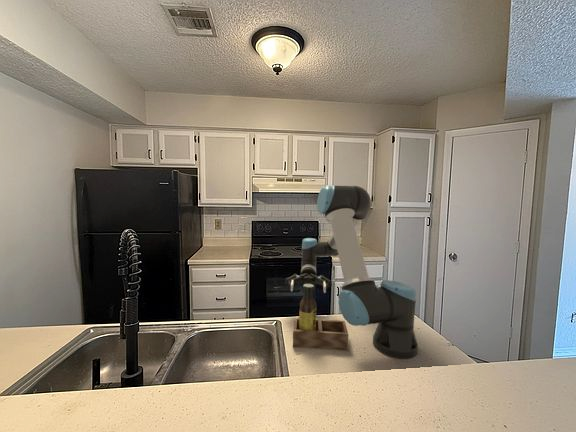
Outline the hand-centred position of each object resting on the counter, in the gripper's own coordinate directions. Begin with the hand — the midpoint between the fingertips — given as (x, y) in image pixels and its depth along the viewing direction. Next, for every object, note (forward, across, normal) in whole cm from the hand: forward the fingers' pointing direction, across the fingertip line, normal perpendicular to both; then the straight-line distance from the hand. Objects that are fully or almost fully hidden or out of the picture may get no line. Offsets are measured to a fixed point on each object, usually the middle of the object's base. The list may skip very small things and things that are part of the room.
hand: (308, 288), depth 113 cm
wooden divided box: (+12, -5, -16) cm, 20 cm away
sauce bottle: (+12, 0, -15) cm, 19 cm away
